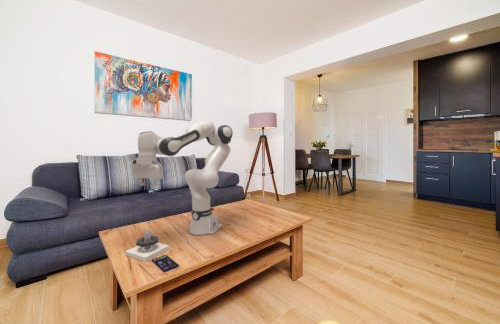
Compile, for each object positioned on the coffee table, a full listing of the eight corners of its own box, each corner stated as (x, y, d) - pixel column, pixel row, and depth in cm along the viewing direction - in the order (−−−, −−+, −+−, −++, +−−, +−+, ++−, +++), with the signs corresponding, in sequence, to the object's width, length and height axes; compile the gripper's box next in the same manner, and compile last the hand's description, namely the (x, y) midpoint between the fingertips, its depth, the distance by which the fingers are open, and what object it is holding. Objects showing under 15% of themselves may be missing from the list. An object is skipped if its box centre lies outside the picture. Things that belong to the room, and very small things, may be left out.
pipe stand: (149, 244, 120) (149, 225, 119) (168, 249, 114) (168, 229, 113) (125, 255, 107) (124, 234, 107) (145, 261, 101) (145, 239, 101)
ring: (148, 237, 117) (148, 234, 117) (162, 240, 113) (162, 237, 112) (132, 244, 108) (132, 241, 108) (146, 248, 104) (146, 245, 104)
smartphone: (166, 254, 108) (180, 266, 97) (166, 255, 108) (180, 267, 97) (150, 259, 103) (163, 272, 92) (150, 261, 103) (163, 274, 92)
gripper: (165, 161, 119) (166, 187, 119) (139, 160, 127) (140, 184, 128) (156, 162, 113) (156, 188, 114) (129, 160, 122) (130, 185, 123)
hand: (147, 186), depth 121 cm, fingers open, 8 cm apart
